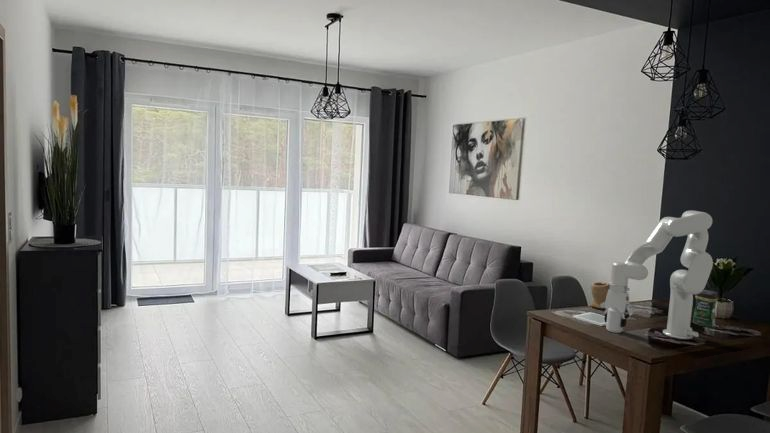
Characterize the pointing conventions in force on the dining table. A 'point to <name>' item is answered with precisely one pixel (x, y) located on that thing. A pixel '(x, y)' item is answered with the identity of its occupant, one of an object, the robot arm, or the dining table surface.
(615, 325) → the can
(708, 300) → the coffee jar
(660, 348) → the dining table surface
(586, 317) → the trivet
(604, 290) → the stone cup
